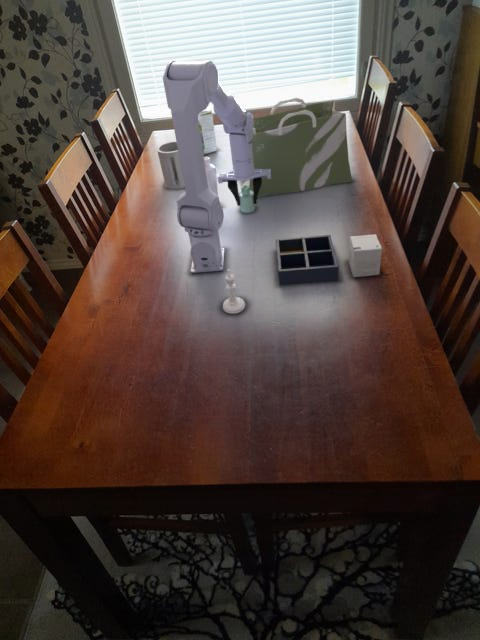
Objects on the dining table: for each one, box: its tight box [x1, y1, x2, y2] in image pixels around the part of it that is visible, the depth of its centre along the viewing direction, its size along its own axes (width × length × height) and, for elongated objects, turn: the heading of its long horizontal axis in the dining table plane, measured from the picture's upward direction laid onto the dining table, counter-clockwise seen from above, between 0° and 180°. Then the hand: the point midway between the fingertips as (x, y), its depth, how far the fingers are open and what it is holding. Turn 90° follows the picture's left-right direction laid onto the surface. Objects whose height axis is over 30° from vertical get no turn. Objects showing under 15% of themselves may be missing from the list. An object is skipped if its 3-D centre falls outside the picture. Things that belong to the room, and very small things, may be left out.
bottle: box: [238, 184, 256, 214], centre depth 129 cm, size 4×4×7 cm
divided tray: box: [275, 234, 339, 286], centre depth 107 cm, size 13×13×4 cm
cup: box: [156, 140, 185, 190], centre depth 146 cm, size 9×9×12 cm
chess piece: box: [222, 268, 246, 315], centre depth 97 cm, size 5×5×10 cm
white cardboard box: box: [348, 233, 383, 278], centre depth 103 cm, size 6×6×7 cm
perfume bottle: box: [204, 156, 219, 197], centre depth 130 cm, size 5×4×15 cm
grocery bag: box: [242, 97, 353, 198], centre depth 134 cm, size 32×14×23 cm, turn 98°
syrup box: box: [198, 107, 218, 155], centre depth 163 cm, size 6×6×14 cm
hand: (247, 203), depth 131 cm, fingers closed on bottle, 4 cm apart
